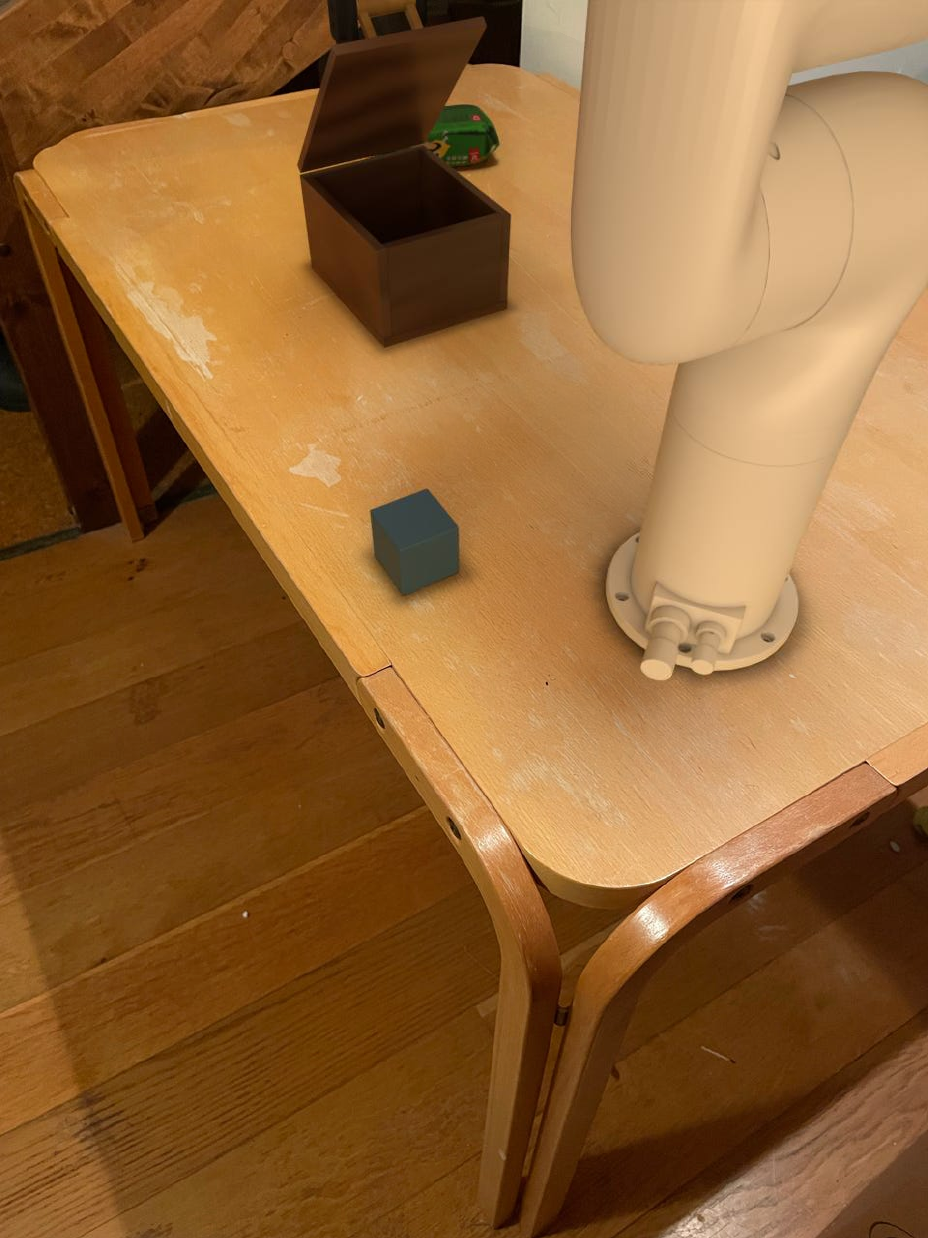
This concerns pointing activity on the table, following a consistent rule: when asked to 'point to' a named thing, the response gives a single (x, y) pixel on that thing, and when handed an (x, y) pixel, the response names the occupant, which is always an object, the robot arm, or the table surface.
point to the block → (415, 541)
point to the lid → (386, 86)
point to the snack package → (461, 136)
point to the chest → (407, 243)
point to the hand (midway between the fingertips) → (380, 40)
